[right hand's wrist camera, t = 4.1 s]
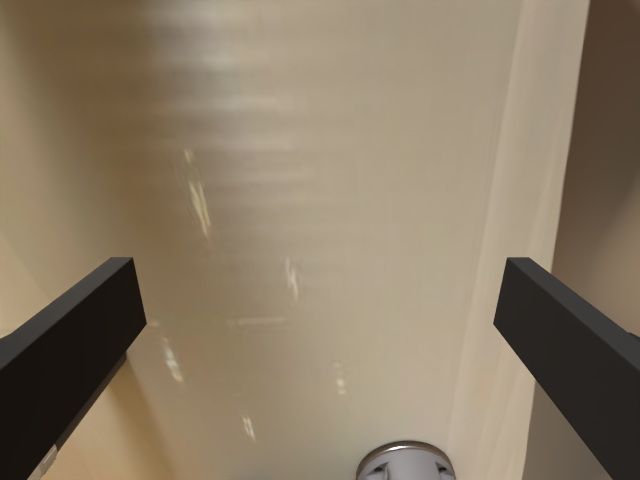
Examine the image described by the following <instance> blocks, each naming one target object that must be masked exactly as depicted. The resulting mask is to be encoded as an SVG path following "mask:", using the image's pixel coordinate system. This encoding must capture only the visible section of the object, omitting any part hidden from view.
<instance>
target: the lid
mask: <svg viewBox="0 0 640 480" xmlns="http://www.w3.org/2000/svg"><path fill="white" fill-rule="evenodd" d="M57 454H58V453H57V447H56V445H55V444H54V445H53V447H52V448H51V449H50V451H49V452H48V453H47V454H46V456H45V457H44V458H43V460H42V461H41V462H40V464H39V465H38V466H37V467H36V469H35V470H34V471H33V473H32V474H31V475H30V477H29V478H28V479H27V480H40V479H41V478H42V476H43V475H45V473H46V472H47V470H48V469H49V468H50V466H51V465H52V464H53V462H54V461H55V460H56V456H57Z"/></svg>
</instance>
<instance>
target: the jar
mask: <svg viewBox="0 0 640 480" xmlns="http://www.w3.org/2000/svg"><path fill="white" fill-rule="evenodd" d="M125 360H126V353H124V354H123V355H122V357H121V358H120V359H119V361H118V362H117V363H116V365H115V366H114V367H113V368H112V370H111V371H110V372H109V374H108V375H107V376H106V378H105V379H104V380H103V382H102V383H101V384H100V385H99V387H98V388H97V389H96V391H95V392H94V393H93V395H92V396H91V397H90V398H89V400H88V401H87V402H86V404H85V405H84V406H83V408H82V409H81V410H80V411H79V413H78V414H77V415H76V417H75V418H74V419H73V421H72V422H71V423H70V424H69V426H68V427H67V428H66V430H65V431H64V432H63V434H62V435H61V436H60V438H59V439H58V440H57V441H56V443H55V445H56V447H57V453H58V451H59V450H60V449H61V447H62V446H63V445H64V443H65V442H66V440H67V439H68V438H69V436H70V435H71V434H72V432H73V431H74V430H75V428H76V427H77V426H78V424H79V423H80V422H81V420H82V419H83V418H84V416H85V415H86V413H87V412H88V411H89V409H90V408H91V407H92V405H93V404H94V403H95V401H96V400H97V399H98V397H99V396H100V395H101V393H102V392H103V391H104V389H105V388H106V386H107V385H108V384H109V382H110V381H111V380H112V378H113V377H114V376H115V374H116V373H117V372H118V370H119V369H120V368H121V366H122V365H123V364H124V362H125Z"/></svg>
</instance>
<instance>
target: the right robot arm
mask: <svg viewBox="0 0 640 480" xmlns="http://www.w3.org/2000/svg"><path fill="white" fill-rule="evenodd" d="M146 324H147V322H146V318H145V313H144V308H143V303H142V299H141V294H140V289H139V284H138V280H137V275H136V270H135V266H134V261H133V257H111V258H110V259H108V260H107V261H106V262H104V263H103V264H102V265H100V266H99V267H98V268H96V269H95V270H94V271H93V272H91V273H90V274H89V275H87V276H86V277H85V278H83V279H82V280H81V281H79V282H78V283H77V284H75V285H74V286H73V287H72V288H70V289H69V290H68V291H66V292H65V293H64V294H62V295H61V296H60V297H58V298H57V299H56V300H54V301H53V302H52V303H51V304H49V305H48V306H47V307H45V308H44V309H43V310H41V311H40V312H39V313H37V314H36V315H35V316H33V317H32V318H31V319H29V320H28V321H27V322H26V323H24V324H23V325H22V326H20V327H19V328H18V329H16V330H15V331H14V332H12V333H11V334H9V335H7V336H5V337H3V338H1V339H0V480H27V479H28V478H29V477H30V475H31V474H32V473H33V471H34V470H35V469H36V467H37V466H38V465H39V464H40V462H41V461H42V460H43V458H44V457H45V456H46V454H47V453H48V452H49V451H50V449H51V448H52V447H53V445H54V444H55V443H56V441H57V440H58V439H59V438H60V436H61V435H62V434H63V432H64V431H65V430H66V428H67V427H68V426H69V424H70V423H71V422H72V421H73V419H74V418H75V417H76V415H77V414H78V413H79V411H80V410H81V409H82V408H83V406H84V405H85V404H86V402H87V401H88V400H89V398H90V397H91V396H92V395H93V393H94V392H95V391H96V389H97V388H98V387H99V385H100V384H101V383H102V382H103V380H104V379H105V378H106V376H107V375H108V374H109V372H110V371H111V370H112V368H113V367H114V366H115V365H116V363H117V362H118V361H119V359H120V358H121V357H122V355H123V354H124V353H125V352H126V350H127V349H128V348H129V346H130V345H131V344H132V342H133V341H134V340H135V339H136V337H137V336H138V335H139V333H140V332H141V331H142V329H143V328H144V327H145V326H146ZM493 324H494V326H495V327H496V328H497V329H498V331H499V332H500V333H501V335H502V336H503V337H504V339H505V340H506V341H507V342H508V344H509V345H510V346H511V348H512V349H513V350H514V352H515V353H516V354H517V355H518V357H519V358H520V359H521V361H522V362H523V363H524V365H525V366H526V367H527V369H528V370H529V371H530V372H531V374H532V375H533V376H534V378H535V379H536V380H537V382H538V383H539V384H540V385H541V387H542V388H543V389H544V391H545V392H546V393H547V395H548V396H549V397H550V398H551V400H552V401H553V402H554V404H555V405H556V406H557V408H558V409H559V410H560V411H561V413H562V414H563V415H564V417H565V418H566V419H567V421H568V422H569V423H570V424H571V426H572V427H573V428H574V430H575V431H576V432H577V434H578V435H579V436H580V437H581V439H582V440H583V441H584V443H585V444H586V445H587V447H588V448H589V449H590V450H591V452H592V453H593V454H594V456H595V457H596V458H597V459H598V461H599V462H600V464H601V465H602V466H603V467H604V469H605V470H606V471H607V473H608V474H609V475H610V477H611V478H612V479H613V480H640V337H638V336H636V335H634V334H632V333H628V332H626V331H625V330H624V329H622V328H621V327H620V326H618V325H617V324H616V323H614V322H613V321H612V320H611V319H609V318H608V317H607V316H605V315H604V314H603V313H601V312H600V311H599V310H597V309H596V308H595V307H593V306H592V305H591V304H589V303H588V302H587V301H586V300H584V299H583V298H582V297H580V296H579V295H578V294H576V293H575V292H574V291H572V290H571V289H570V288H568V287H567V286H566V285H564V284H563V283H562V282H561V281H559V280H558V279H557V278H555V277H554V276H553V275H551V274H550V273H549V272H547V271H546V270H545V269H544V268H542V267H541V266H540V265H538V264H537V263H536V262H534V261H533V260H532V259H530V258H529V257H507V261H506V266H505V270H504V275H503V280H502V284H501V289H500V294H499V299H498V303H497V308H496V313H495V318H494V322H493ZM356 480H456V477H455V473H454V470H453V467H452V464H451V462H450V460H449V458H448V457H447V456H446V454H445V453H443V452H442V451H441V450H440V449H438V448H436V447H434V446H432V445H429V444H426V443H422V442H416V441H401V442H394V443H390V444H387V445H384V446H381V447H379V448H377V449H375V450H374V451H372V452H371V453H369V454H368V455H367V456H366V457H365V458H364V459H363V460H362V461H361V463H360V465H359V466H358V469H357V472H356Z"/></svg>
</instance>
